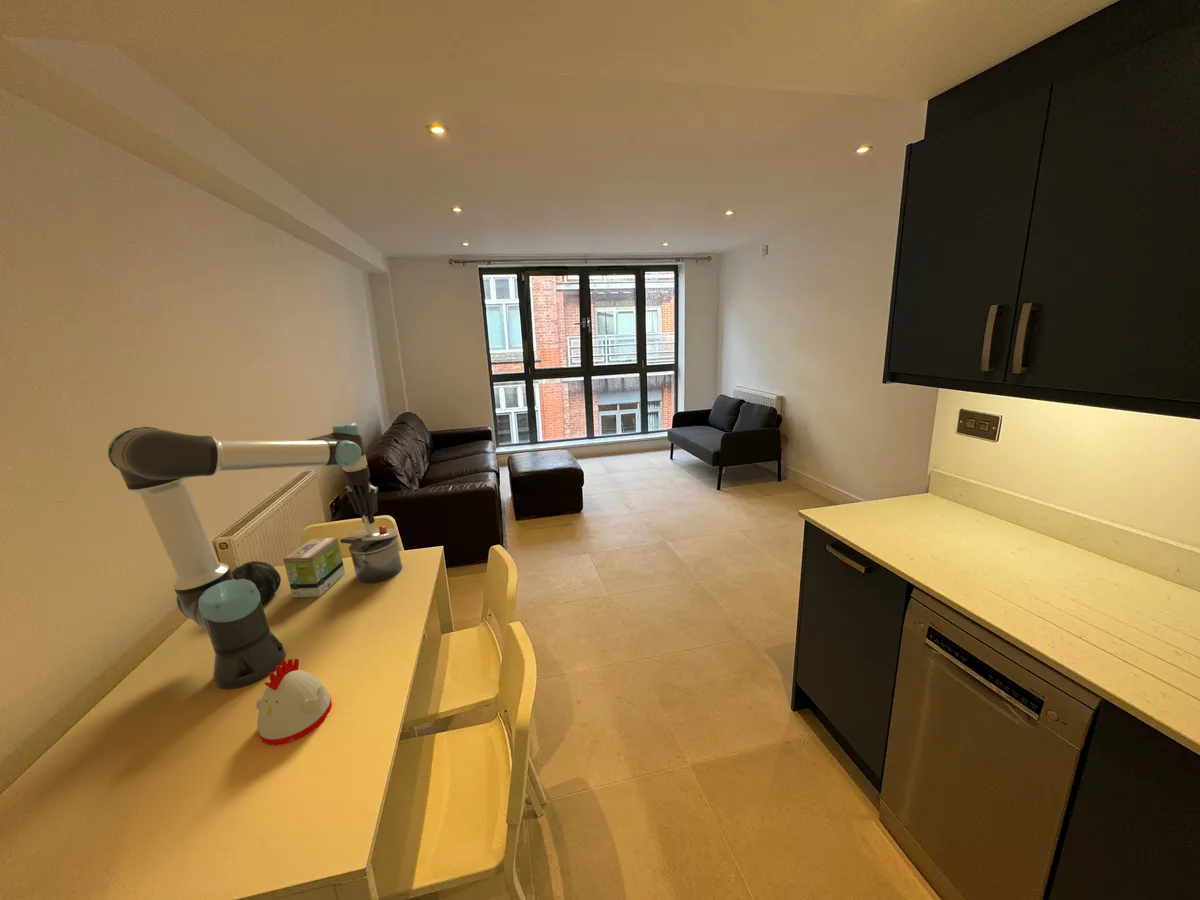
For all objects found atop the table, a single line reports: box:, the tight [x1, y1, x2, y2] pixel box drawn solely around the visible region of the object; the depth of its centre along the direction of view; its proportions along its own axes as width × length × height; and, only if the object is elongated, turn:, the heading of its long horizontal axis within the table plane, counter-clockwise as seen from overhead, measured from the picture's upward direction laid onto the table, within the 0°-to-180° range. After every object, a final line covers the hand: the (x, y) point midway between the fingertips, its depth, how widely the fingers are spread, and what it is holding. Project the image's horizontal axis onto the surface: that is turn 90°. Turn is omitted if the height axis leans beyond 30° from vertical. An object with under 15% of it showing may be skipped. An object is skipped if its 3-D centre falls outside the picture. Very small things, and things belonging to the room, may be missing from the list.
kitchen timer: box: [256, 658, 333, 746], centre depth 102 cm, size 14×14×15 cm
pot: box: [348, 534, 403, 585], centre depth 165 cm, size 17×16×12 cm
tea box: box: [283, 537, 346, 598], centre depth 158 cm, size 15×10×15 cm, turn 179°
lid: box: [340, 525, 398, 545], centre depth 161 cm, size 20×16×4 cm
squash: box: [231, 560, 282, 603], centre depth 152 cm, size 14×15×15 cm
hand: (371, 531), depth 161 cm, fingers closed
